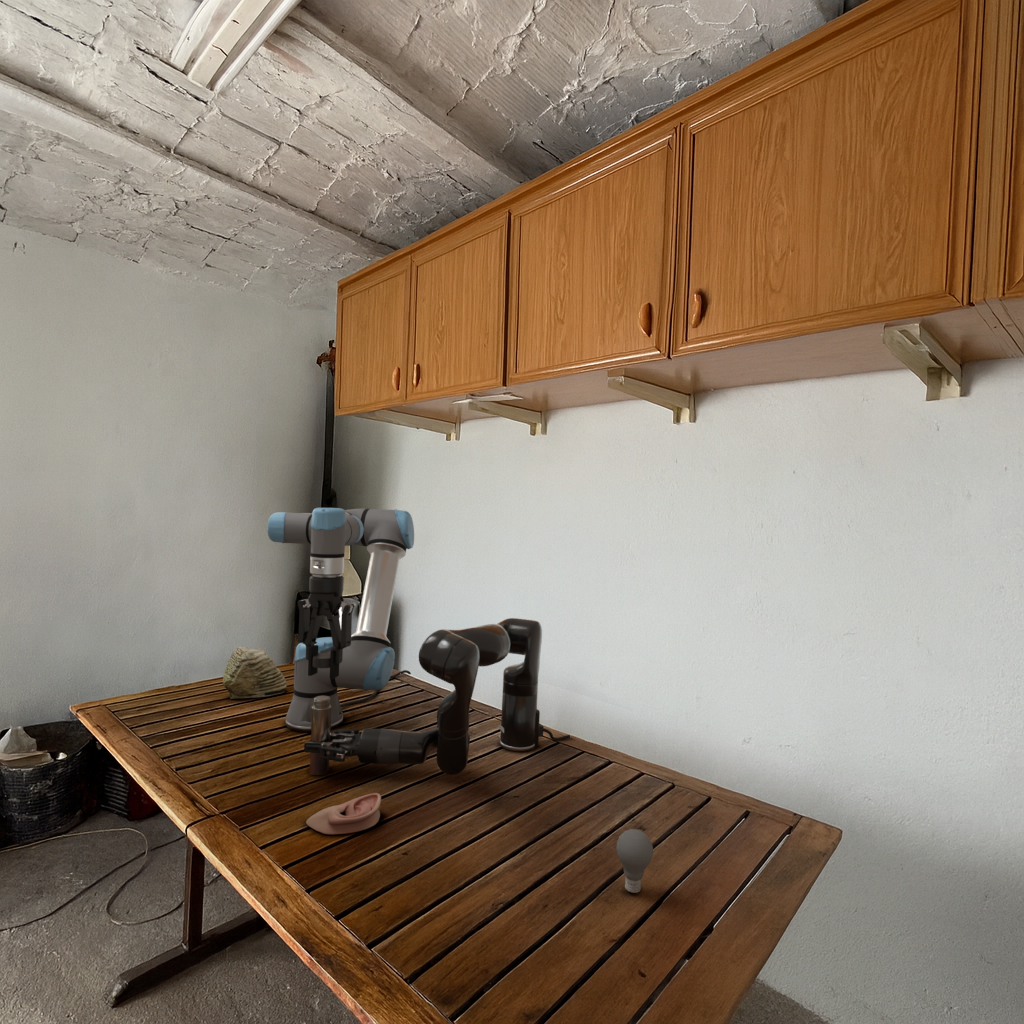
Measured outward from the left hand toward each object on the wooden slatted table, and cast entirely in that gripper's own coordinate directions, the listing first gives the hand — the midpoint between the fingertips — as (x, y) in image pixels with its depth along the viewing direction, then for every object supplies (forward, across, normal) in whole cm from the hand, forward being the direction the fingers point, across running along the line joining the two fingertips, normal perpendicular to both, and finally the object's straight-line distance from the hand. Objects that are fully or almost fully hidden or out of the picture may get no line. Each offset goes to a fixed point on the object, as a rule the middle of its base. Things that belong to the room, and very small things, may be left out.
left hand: (323, 675), depth 146 cm
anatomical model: (+22, +17, -18) cm, 33 cm away
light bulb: (+22, +73, -22) cm, 79 cm away
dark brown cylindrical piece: (+22, 0, 0) cm, 22 cm away
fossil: (+23, -49, +40) cm, 67 cm away
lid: (-4, 0, 0) cm, 4 cm away
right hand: (+16, -2, -1) cm, 16 cm away
